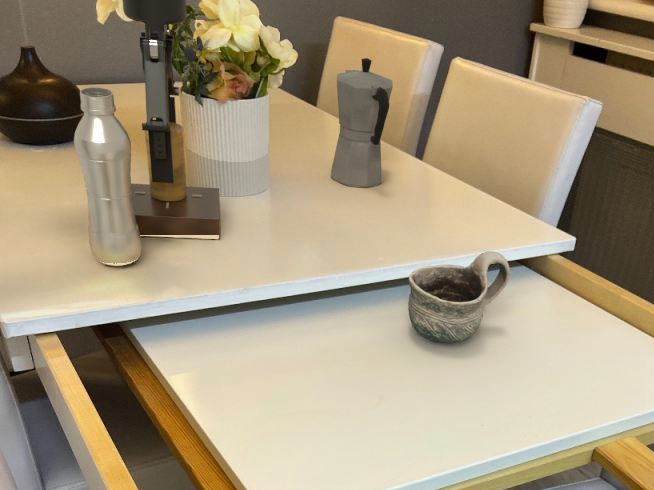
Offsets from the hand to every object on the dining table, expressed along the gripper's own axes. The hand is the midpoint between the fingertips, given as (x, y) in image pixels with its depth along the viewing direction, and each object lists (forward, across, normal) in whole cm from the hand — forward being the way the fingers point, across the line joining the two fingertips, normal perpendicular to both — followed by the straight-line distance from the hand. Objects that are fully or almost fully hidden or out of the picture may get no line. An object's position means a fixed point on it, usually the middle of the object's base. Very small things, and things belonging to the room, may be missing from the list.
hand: (165, 163), depth 108 cm
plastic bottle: (+8, +15, -6) cm, 18 cm away
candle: (+4, 0, 0) cm, 4 cm away
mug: (+7, +31, +35) cm, 47 cm away
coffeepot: (+7, -18, +30) cm, 36 cm away
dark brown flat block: (+7, +2, 0) cm, 8 cm away
